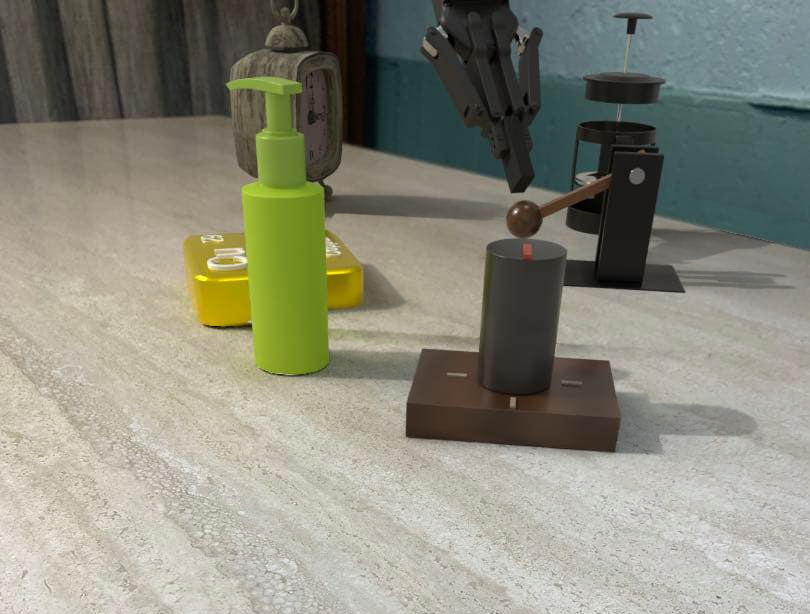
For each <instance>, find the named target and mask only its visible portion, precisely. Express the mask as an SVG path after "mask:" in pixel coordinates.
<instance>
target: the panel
mask: <svg viewBox="0 0 810 614" xmlns="http://www.w3.org/2000/svg"><path fill="white" fill-rule="evenodd" d="M478 354H479V351H468V350H454V349H439V348H425V347H424V348H422V349H421V351H420V354H419V358H418V361H417V365H416V369H415V372H414V375H413V379H412V382H411V385H410V389H409V392H408V396H407V400H406V403H405V437H409V438H420V439H421V438H422V439H434V440H447V441H449V440H450V441H462V442H475V443H488V444H489V443H490V444H502V445H515V446H516V445H517V446H531V447H544V448H554V449H555V448H557V449H570V450H583V451H595V452H612V453H615V452H616V449H617V445H618V439H619V432H620V429H621V428H620V427H621V421H622V416H621V410H620V406H619V402H618V396H617V392H616V385H615V381H614V376H613V371H612V366H611V362H610V360H608V359H607V360H605V359H594V358H593V359H591V358H578V357H577V358H575V357H561V356H554V365H553V373H552V381H551V385H550V386H549V387H548V388H547V389H545V390H543V391H541V392H537V393H532V394H506V393H501V392H497V391H493V390H490V389H488V388H486V387H484V386H483V385H481V384H480V383H479V382H478V380H477V368H478Z"/></svg>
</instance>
